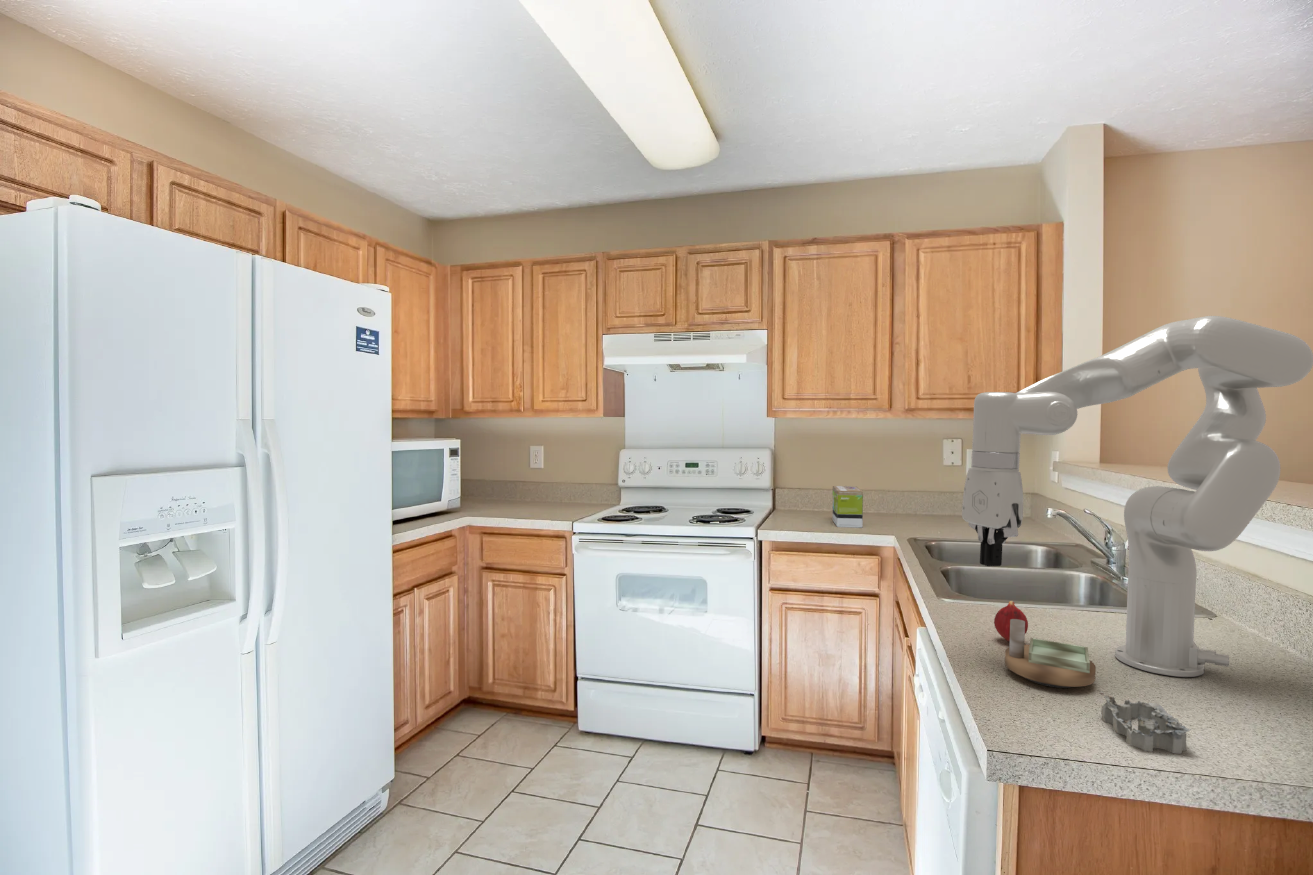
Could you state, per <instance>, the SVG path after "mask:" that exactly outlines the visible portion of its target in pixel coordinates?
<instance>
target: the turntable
mask: <svg viewBox="0 0 1313 875" xmlns="http://www.w3.org/2000/svg"><path fill="white" fill-rule="evenodd" d="M1025 635H1026V634H1025V621H1023V620H1019V619H1011V620H1010V642H1009V646H1008V647H1007V648H1005V650H1004V665H1005V667H1006V668H1008V670H1009V671H1011V672H1012V673H1014V674H1016V675H1018V676H1020V677H1023V678H1024V677H1025V679H1026V678H1028V679H1031V680H1034V681H1038V682H1042V683H1047V684H1052V685H1059V686H1070V688H1074V687H1078V688H1079V687H1087V686H1090V685H1092V684H1094V683H1095V682H1096V671H1097V670H1096V669H1097V667H1096V664H1095V663H1094V662H1093V661H1092V660H1090V653H1089V647H1088V646H1082V645H1078V644H1077V645H1076V644H1069V643H1064V642H1058V641H1051V640H1048V639H1047V640H1046V639H1041V638H1034V637H1033V638H1032V637H1030V640H1029V644H1025V642H1026V641H1025V639H1026V637H1025ZM1028 679H1027V680H1028Z"/></svg>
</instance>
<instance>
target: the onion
mask: <svg viewBox="0 0 1313 875" xmlns="http://www.w3.org/2000/svg"><path fill="white" fill-rule="evenodd" d="M1024 613H1025V612H1024V611H1022V610H1021V609H1020V608H1018V607H1017V606H1016V604H1015V602H1014V601H1013V600H1010V601H1008V604H1007V605H1005V606H1004V607H1002V608H1000V609H999V610H998V611H997V612H996V613H995V616H994V619H993V620H994V621H993V624H994V628H995V629H996V632H997V633H998V634H999V635H1000V636H1001V637H1002V638H1003V639H1004V640H1006V641H1007V642H1008V643H1010V620H1011V619H1019V620H1023V621H1025V635H1026V634H1027V632H1028V629H1029V620H1028V618H1027V616H1026V615H1025V614H1024Z"/></svg>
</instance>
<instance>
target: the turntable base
mask: <svg viewBox="0 0 1313 875" xmlns="http://www.w3.org/2000/svg"><path fill="white" fill-rule="evenodd" d="M1023 678H1025V677H1023ZM1025 679H1026V680H1028V681H1030V682H1031V683H1035V684H1038V685H1042V686H1045V687H1050V688H1057V689H1069V688H1071V687H1070V686H1059V685H1052V684H1047V683H1042V682H1038V681H1034V680H1031V679H1028V678H1025Z"/></svg>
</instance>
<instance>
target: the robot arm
mask: <svg viewBox="0 0 1313 875" xmlns="http://www.w3.org/2000/svg"><path fill="white" fill-rule="evenodd" d="M1312 368H1313V350H1312V349H1311V347H1310V345H1309V344H1308V343H1307V342H1306V341H1305V340H1303V339H1302V338H1300V337H1299V336H1296V335H1294V334H1292V333H1288V332H1285V331H1282V330H1278V329H1275V328H1274V329H1273V328H1269V327H1267V326H1262V325H1259V324H1256V323H1252V322H1248V321H1244V320H1241V319H1236V318H1232V317H1227V316H1220V315H1206V316H1200V317H1195V318H1194V317H1193V318H1190V319H1185V320H1184V319H1182V320H1177V321H1173V322H1172V321H1171V322H1169V323H1165V324H1163V325H1161V326H1159V327H1156V328H1154V329H1153V330H1150V331H1148V332H1145V334H1141V335H1140V336H1138V337H1136V338H1134V339H1132V340H1130V341H1128V342H1127V343H1124V344H1123V345H1121V346H1118V347H1116V348H1114V349H1113V350H1112V349H1111V350H1110V351H1108V352H1106V353H1104V354H1102V355H1100V356H1097V357H1094V358H1092V359H1089V360H1087V361H1084V362H1082V363H1080V364H1077V365H1076V366H1073V367H1071V368H1068V369H1066V370H1063V371H1060V372H1058V373H1055V374H1053V375H1050V376H1048V377H1045V378H1043V379H1041V380H1039V381H1037V382H1035V383H1033V384H1030V385H1028V386H1026V387H1025V388H1023V389H1021V390H1018V391H1017V392H1007V391H1002V392H1001V391H987V392H986V391H985V392H981V393H978V394H977V395H976V396H975V398H974V401H973V420H972V421H973V422H972V441H971V442H972V445H971V448H972V449H971V463H970V464H971V467H969V468H968V471H967V473H966V478H965V483H964V487H963V496H962V506H961V517H962V519H963V520H964V521H965V522H966V523H968V526H969V527H970V528H971V529H973V530H975V531H976V533H977V540H978V541H979V542H980V548H979V550H980V552H979V564H980V565H983V566H984V567H1000V566H1002V562H1003V545H1005V544H1006V542H1007V539H1008V538H1016V537H1018V536H1019V531H1018V529H1019V528H1021V526H1022V524H1023V519H1024V491H1023V482H1022V481H1023V480H1022V479H1023V478H1022V474H1021V471H1020V461H1021V460H1020V459H1021V457H1020V456H1021V439H1022V438H1021V437H1022V435H1024V434H1026V435H1036V436H1037V435H1038V436H1039V435H1040V436H1053V435H1054V436H1055V435H1059V434H1063V433H1065V432H1067V431H1068V430H1070V429H1071V428H1072V427H1073V426H1074V425H1075V423H1076V421H1077V418H1078V409H1082V408H1083V409H1084V408H1087V407H1091V406H1097V405H1103V404H1108V403H1115V402H1117V401H1121V400H1124V399H1128V398H1130V397H1133V396H1135V395H1136V394H1139V393H1141V392H1142V391H1144V390H1147V389H1148V388H1151V387H1152V386H1154V385H1157V384H1159V383H1161V382H1163V381H1165V380H1167V379H1169V378H1170V377H1172V376H1175V375H1177V374H1178V373H1181V372H1184V371H1186V370H1191V369H1197V370H1198V371H1197V372H1198V376H1199V378H1200V381H1201V383H1202V386H1203V389H1204V393H1205V401H1206V402H1205V407H1204V408H1203V412H1202V413H1201V415H1200V416H1199V418H1198V419H1197V421H1196V422H1195V424H1193V426H1192V427H1191V428H1190V430H1189V431H1188V433H1187V434H1186V435H1185V437H1184V438H1183V439H1182V441H1181V442H1180V444H1178V446H1177V447H1176V448H1175V450H1174V451H1173V453H1172V454H1171V457H1170V458H1169V460H1168V462H1167V474H1168V476H1169V478H1171V480H1172V481H1173V483H1175V484H1177V485H1179V486H1182V487H1184V488H1187V489H1183V488H1177V487H1176V488H1175V487H1170V486H1162V485H1161V486H1159V485H1155V486H1154V485H1153V486H1147V487H1143V488H1140V489H1138V490H1136V491H1135V492H1134V493H1131V495H1130V496H1129V497H1128V498H1127V501H1126V502H1125V505H1124V510H1123V520H1124V525H1125V526H1124V527H1125V531H1126V535H1127V544H1128V570H1127V571H1128V573H1127V576H1128V577H1127V594H1126V595H1127V596H1126V620H1125V621H1126V622H1125V623H1126V624H1125V644H1124V645H1118V646H1117V647H1116V648H1115V649H1114V656H1115V658H1116V659H1117V660H1118V661H1120V662H1122V663H1123V664H1125V665H1128V666H1130V667H1132V668H1134V669H1138V670H1142V671H1145V672H1149V673H1152V674H1157V675H1163V676H1170V677H1180V678H1195V677H1199V676H1202V675H1203V674H1204V673H1205V664H1206V663H1207V664H1213V665H1215V666H1221V667H1227V668H1228V667H1230V656H1229V654H1223V653H1217V651H1216V650H1212V649H1203V648H1200V647H1199V646H1197V645H1196V643H1195V640H1194V639H1195V638H1194V637H1195V635H1194V634H1195V619H1196V618H1195V617H1196V616H1195V614H1196V591H1197V590H1196V588H1197V587H1196V586H1197V576H1198V575H1197V573H1198V572H1197V564H1196V563H1197V562H1196V559H1195V556H1194V553H1193V550H1196V551H1200V552H1216V551H1220V550H1223V549H1225V548H1227V547H1229V546H1230V545H1231V544H1232V543H1233V542H1234V541H1235V540H1237V539H1238V537H1240V536H1241V534H1242V533H1243V531H1244V530H1245V529H1246V528H1247V527H1248V525H1249V524H1250V523H1251V521H1252V520H1253V519H1254V517H1255V516H1256V515H1257V513H1258V512H1260V509H1261V508H1262V507H1263V506H1264V504H1265V503H1266V502H1267V501H1268V499H1269V498H1270V496H1271V495H1272V493H1274V490H1275V489H1276V488H1277V486H1278V483H1279V480H1280V476H1281V461H1280V459H1279V457H1278V454H1277V453H1276V452H1275V451H1274V449H1273V448H1271V447H1270V446H1269V445H1268V444H1265V443H1263V442H1260V441H1258V440H1257V439H1259V437H1260V435H1261V433H1262V431H1263V430H1264V428H1265V425H1266V421H1267V414H1266V409H1265V406H1264V404H1263V400H1262V398H1261V395H1260V393H1259V390H1258V388H1259V389H1261V388H1279V387H1280V388H1281V387H1287V386H1291V385H1294V384H1296V383H1299V382H1300V381H1302V380H1303V379H1304V378H1306V377H1307V376H1308V375H1309V373H1310V372H1311V371H1312ZM1188 489H1189V490H1188ZM1190 489H1191V490H1190Z"/></svg>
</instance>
